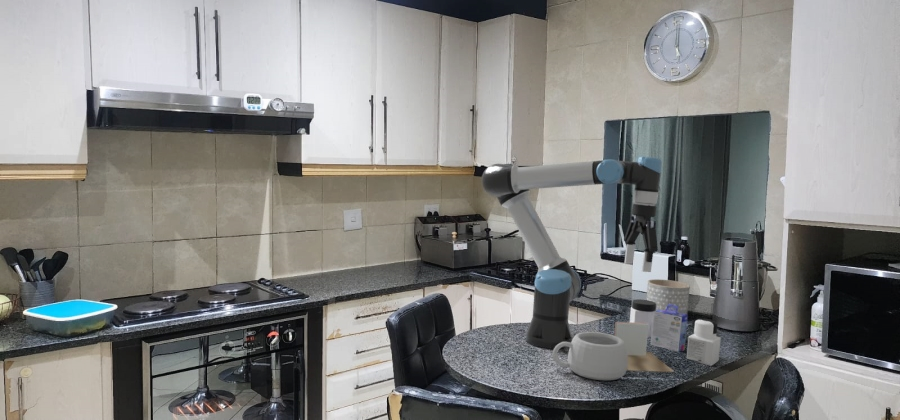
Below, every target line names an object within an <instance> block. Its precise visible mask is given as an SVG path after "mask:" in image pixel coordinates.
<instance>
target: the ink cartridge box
mask: <svg viewBox="0 0 900 420" xmlns="http://www.w3.org/2000/svg"><path fill="white" fill-rule="evenodd" d="M669 307H674V308H676V310H673V309H669ZM677 310H678V306H675V305H671V304H668V306H667V308H666V310H661V309H659V310H656V311H654V315H653V326H652V336H651V338H650V345H651V346H655V347H659V348H663V349H667V350H671V351H675V352H683V351H685V347H686V337H687V330H688V329H687V328H688V318H689V315H688V313H687V314H682V313H677Z"/></svg>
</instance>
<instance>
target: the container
mask: <svg viewBox="0 0 900 420" xmlns="http://www.w3.org/2000/svg"><path fill="white" fill-rule="evenodd" d="M717 331H718V322H716V321H714V320H712V319H709V318H698V319H695V320H694V328H693V333H692V334H691V335H689V336H688V339H687V349H686V359H688V360H691V361H695V362H697V363H699V364H701V365H706V366H710V367H712V366H713V365H715V364H716V363H718V362H719V359H720V350H721V339H722V338H721V337H720V336H717V333H718V332H717Z"/></svg>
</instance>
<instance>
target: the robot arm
mask: <svg viewBox="0 0 900 420" xmlns="http://www.w3.org/2000/svg"><path fill="white" fill-rule="evenodd" d="M662 163H663V162H662V159H661V158H659V157H653V156H652V157H651V156H638V159H637V161H625V160H624V161H623V160H617V159H611V158H609V159H608V158H607V159H603V160H594V161H593V160H592V161H579V162H569V163H568V162H567V163H557V164H556V163H555V164H554V163H553V164H544V165H543V164H542V165H531V166H530V165H529V166H518V165H517V164H514V163H512V164H511V163H495V164H491V165H489V166H488V167H486V168H485V170H484V171H483V173H482V175H481V185H482V189H483V190H484V191H485V192H486V193H487V194H488V195H490V196H492V197H494V198H497V200H498V202H499V204H500V206H501V207H502V208H505V209H507V210H508V213H509V214H510V216H511V218H512V220H513V222H514V224H515V226H516V227H517V230H518V231H519V234H520V235H521V237H522V239H523V241H524V243H525V245H526V247H527V249H528V251H529V253H530V255H531V257H532V258H533V260H534V262H535V264H536V266H537V268H538V269H537V273H536V274H535V279H534V291H533V292H534V293H533V304H532V305H533V306H532V307H533V309H532V318H531V320H530V323H529V325H528V328H527V331H526V333H525V341H526V342H527V343H529V344H530V345H532V346H535V347H540V348H544V349H545V348H546V349H552V350H553V349H554V348H555V346H556V345H557V344H559V343H561V342H570V343H571V342H572V339H573V336H572V332H571V327H570V325H569V324H570V323H569V315H570V314H569V313H570V312H569V311H570V303H571V302H572V301H574V300H575V299H576V298H577V297H578V295H579V293H580V291H581V288H582V280H581V278H580V275H579V274H578V273H577V272H576V271H575V270H574V269H573V268H571V266H570V264H569V261H568V260H567V259H566V258H563V257H561V256H560V254H559V252H558V250H557V248H556V246H555V244H554V243H553V241H552V238H551V237H550V235H549V233H548V231H547V230H546V228H545V226H544V224H543V222H542V220H541V218H540V216H539V214H538V213H537V211H536V208H535V206H534V205H533V203H532V201H531V199H530V194H531V191H530V190H535V189H536V190H537V189H538V190H539V189H552V188H565V187H567V188H568V187H579V186H592V185H593V186H595V185H614V184H620V185H621V184H622V185H623V184H624V185H634V190H633V197H632V199H633V200H632V202H633V204H632V209H631V214H632V215H631V216H630V220H629V223H628V227H627V229H626V233H625V235H624V238H623V242H625V244H626V247H625V255H624V264H625V265H626V264H628V265H633V264H634V257H635V249H636V241H637V239H638V237H639V236H640V235H642V240H643V243H644V248H645V249H644V250H643V258H642V266H641V272H645V273H651V272H652V267H653V266H652V265H653V259H654V253H655V252H658V239H657V230H656V228H657V227H656V226H657V225H656V224H657V222H656V221H655V220H652V219H651V218H655V217H656V215H657V206H656V205H657V203H658V198H659V190H660V189H659V188H660V180H661V175H662ZM564 348H568V347H567V346H563V347H561V348H560V349H564Z"/></svg>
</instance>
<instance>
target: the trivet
mask: <svg viewBox="0 0 900 420" xmlns="http://www.w3.org/2000/svg"><path fill="white" fill-rule="evenodd" d="M627 358H628V367H627V370H626V371H630V372H632V371H635V372H661V373H664V372H665V373H666V372H667V373H669V372H670V373H671V372H672V373H674V372H675V371H674V369H672V368H671V367H669V366H668V365H667V364H666V363H664V362H663V361H662V360H660V359H659V358H658V357H657V356H656V355H654V354H653V353H652V352H650V351H646V356H638V355H627Z"/></svg>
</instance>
